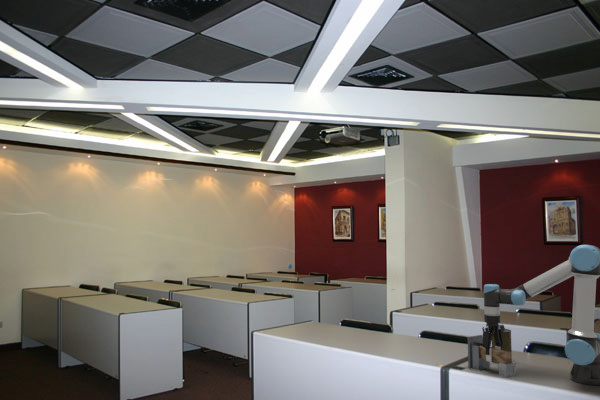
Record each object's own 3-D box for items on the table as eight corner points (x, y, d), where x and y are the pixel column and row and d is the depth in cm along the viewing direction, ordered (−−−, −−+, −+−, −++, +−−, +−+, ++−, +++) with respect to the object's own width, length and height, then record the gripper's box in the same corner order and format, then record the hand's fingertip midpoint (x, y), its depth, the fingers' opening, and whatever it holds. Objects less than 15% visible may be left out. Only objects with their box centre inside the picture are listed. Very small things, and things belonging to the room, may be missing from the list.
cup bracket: (491, 367, 244) (490, 336, 245) (477, 370, 238) (476, 338, 239) (481, 365, 249) (480, 334, 250) (468, 368, 243) (467, 336, 244)
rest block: (516, 374, 231) (515, 362, 231) (506, 377, 226) (506, 364, 227) (508, 373, 234) (508, 360, 234) (499, 375, 230) (498, 362, 230)
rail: (511, 362, 231) (511, 352, 232) (505, 363, 228) (505, 353, 229) (480, 355, 246) (480, 345, 247) (474, 356, 243) (474, 346, 244)
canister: (514, 364, 250) (513, 326, 252) (494, 363, 252) (492, 326, 254) (509, 359, 261) (508, 323, 263) (490, 358, 263) (488, 322, 265)
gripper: (497, 312, 248) (498, 356, 245) (473, 315, 237) (475, 361, 235) (510, 314, 241) (511, 359, 239) (486, 317, 230) (488, 364, 228)
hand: (493, 360), depth 237 cm, fingers open, 7 cm apart
